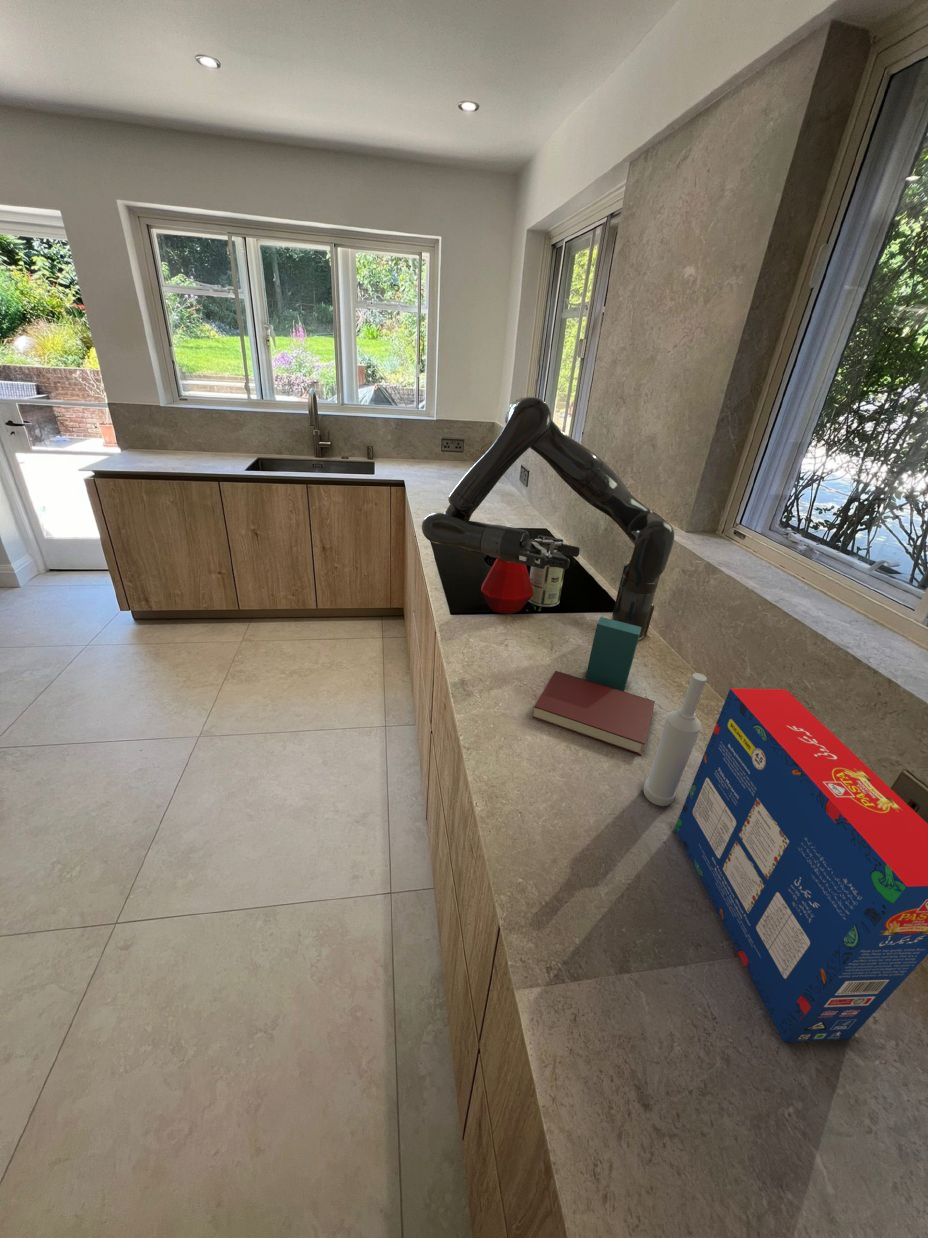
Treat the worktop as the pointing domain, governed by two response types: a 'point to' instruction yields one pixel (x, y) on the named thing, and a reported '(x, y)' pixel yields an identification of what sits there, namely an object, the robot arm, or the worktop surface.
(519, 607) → the red lidded jar
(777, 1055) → the worktop surface
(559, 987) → the worktop surface
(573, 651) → the worktop surface
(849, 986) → the pasta box
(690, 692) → the bottle
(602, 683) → the teal rectangular block
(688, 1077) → the worktop surface
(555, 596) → the coffee can
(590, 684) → the oxblood cookbook
